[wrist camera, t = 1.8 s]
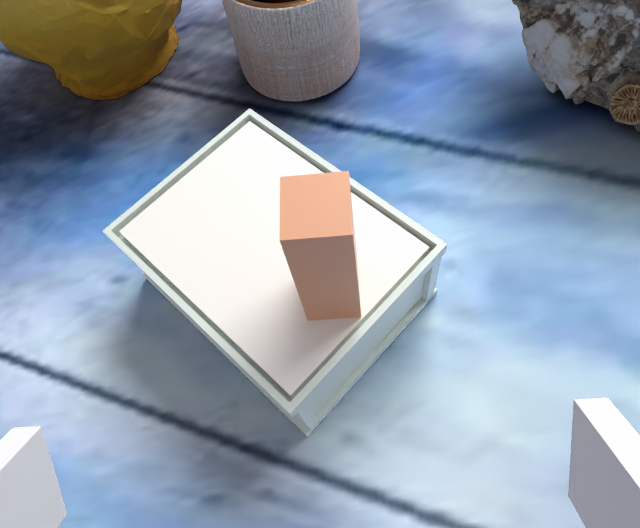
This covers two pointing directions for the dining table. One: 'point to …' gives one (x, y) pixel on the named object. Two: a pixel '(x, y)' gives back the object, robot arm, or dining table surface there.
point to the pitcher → (93, 40)
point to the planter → (295, 45)
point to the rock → (587, 51)
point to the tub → (358, 348)
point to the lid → (275, 253)
